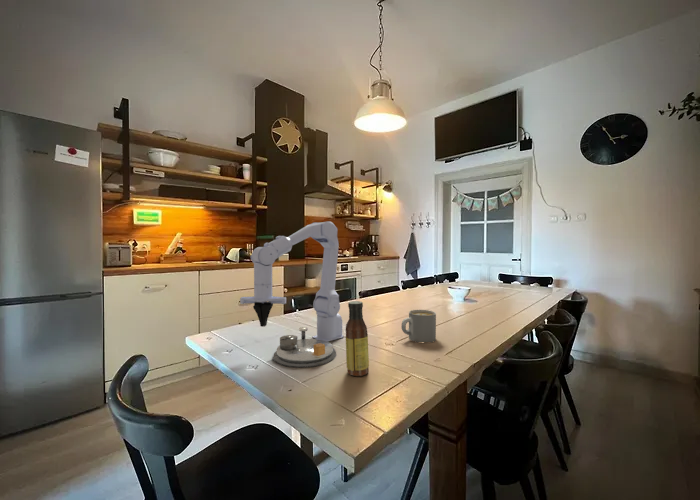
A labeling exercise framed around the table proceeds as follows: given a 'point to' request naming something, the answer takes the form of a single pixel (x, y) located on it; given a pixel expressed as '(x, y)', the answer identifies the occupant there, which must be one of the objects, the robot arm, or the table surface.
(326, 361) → the turntable base
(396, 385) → the table surface
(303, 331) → the small grey dumbbell
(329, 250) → the robot arm
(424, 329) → the coffee mug
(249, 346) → the table surface
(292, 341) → the cover
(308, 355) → the turntable
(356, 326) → the sauce bottle
